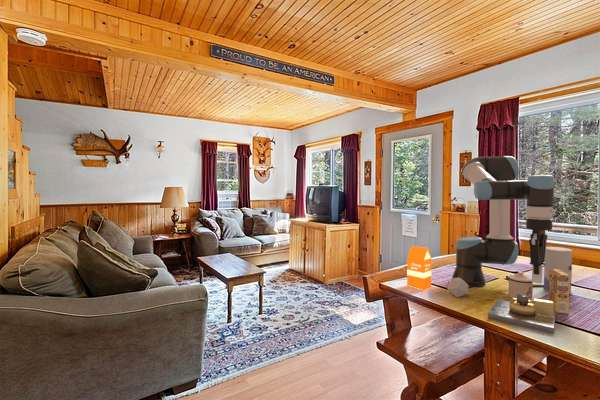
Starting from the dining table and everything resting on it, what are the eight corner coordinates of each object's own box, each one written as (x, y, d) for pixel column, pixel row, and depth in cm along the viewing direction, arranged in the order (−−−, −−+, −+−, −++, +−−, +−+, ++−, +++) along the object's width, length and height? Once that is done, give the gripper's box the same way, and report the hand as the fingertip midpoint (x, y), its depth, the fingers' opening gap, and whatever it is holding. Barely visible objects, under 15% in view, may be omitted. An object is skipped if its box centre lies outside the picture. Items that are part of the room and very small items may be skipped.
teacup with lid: (531, 303, 131) (532, 276, 130) (506, 298, 137) (506, 272, 136) (534, 296, 139) (535, 270, 139) (510, 291, 146) (511, 267, 145)
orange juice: (423, 290, 148) (424, 249, 147) (406, 286, 155) (407, 246, 154) (431, 287, 153) (431, 247, 152) (414, 283, 160) (414, 244, 159)
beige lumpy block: (511, 312, 116) (511, 299, 115) (508, 305, 123) (508, 293, 122) (555, 319, 109) (555, 305, 109) (549, 311, 116) (550, 298, 116)
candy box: (569, 314, 119) (570, 275, 119) (556, 312, 121) (556, 274, 120) (559, 306, 128) (560, 269, 127) (547, 304, 129) (548, 268, 129)
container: (576, 294, 141) (577, 250, 140) (551, 293, 143) (552, 250, 142) (562, 287, 151) (563, 246, 150) (539, 286, 153) (540, 246, 152)
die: (456, 292, 147) (444, 276, 147) (474, 287, 142) (461, 270, 142) (454, 303, 141) (441, 287, 141) (472, 298, 135) (459, 281, 135)
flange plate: (488, 318, 116) (488, 297, 116) (497, 303, 131) (497, 284, 130) (553, 333, 104) (554, 310, 104) (555, 315, 118) (556, 294, 118)
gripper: (547, 220, 104) (544, 289, 105) (557, 217, 112) (554, 281, 114) (520, 218, 110) (518, 283, 111) (532, 215, 118) (530, 276, 119)
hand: (536, 282), depth 112 cm, fingers closed
